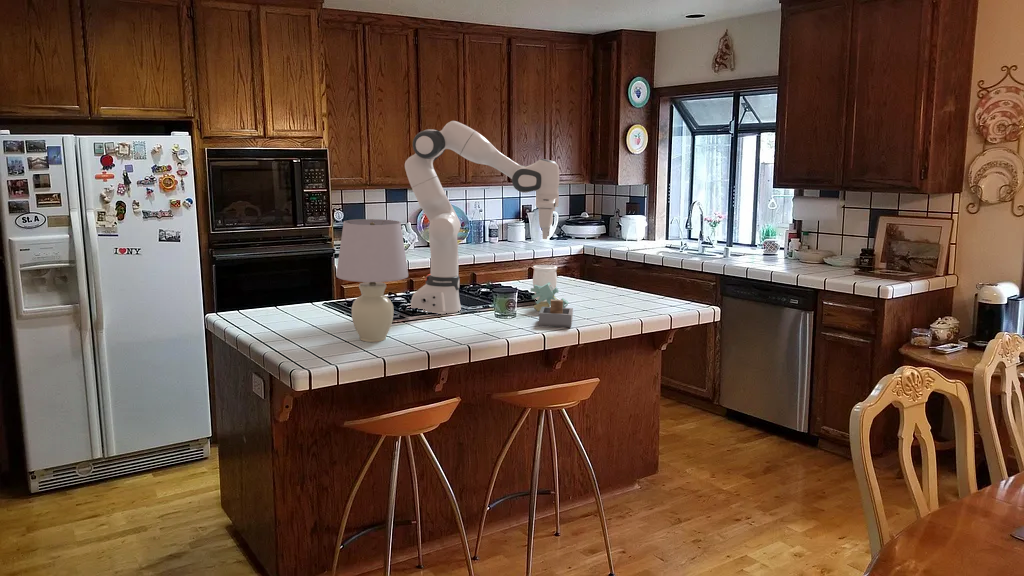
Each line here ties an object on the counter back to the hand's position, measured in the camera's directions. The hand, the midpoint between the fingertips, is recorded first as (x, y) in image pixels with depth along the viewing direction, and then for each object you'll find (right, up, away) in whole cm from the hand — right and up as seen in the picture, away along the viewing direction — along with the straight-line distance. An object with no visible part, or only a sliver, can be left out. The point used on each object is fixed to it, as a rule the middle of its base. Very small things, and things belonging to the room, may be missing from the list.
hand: (545, 237), depth 304 cm
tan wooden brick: (+4, -32, -8) cm, 33 cm away
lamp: (-61, -37, -38) cm, 81 cm away
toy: (+2, -29, +15) cm, 33 cm away
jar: (+1, -25, +35) cm, 43 cm away
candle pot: (+4, -33, -8) cm, 34 cm away
